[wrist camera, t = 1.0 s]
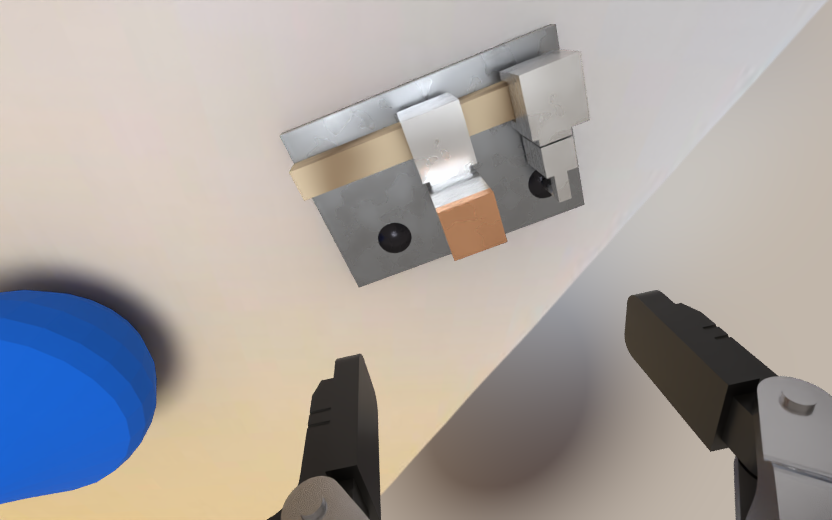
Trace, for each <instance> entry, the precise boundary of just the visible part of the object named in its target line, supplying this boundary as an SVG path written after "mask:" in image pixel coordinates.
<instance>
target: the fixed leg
mask: <svg viewBox="0 0 832 520" xmlns="http://www.w3.org/2000/svg"><path fill="white" fill-rule="evenodd" d="M499 74H500V79H501V80H502V81H505V82H507V83H508V87H509V92H510V96H511V101H512V105H513V109H514V114H515V118H516V119H513V120H510V121H511V126H512V128H514V129H516V130H517V131H519V133H520V134H522V135H523V136H522V140H523V144H524V149H525V153H526V158H527V162H528V164H529V165H531V166H532V167H533V168H534V169H536V170H537V171H538V172H539V173H541V174H542V175H543V176H544V177H546V179H544V180H543V182H542V186H543V187H544V188H545V189H546V190H547V191H548V192H549V193H551V194H552V195H553V196H554V198H555V199H556V200H557V201H558V202H559V203H560V202H563V201H565V200H568V199H571V198H572V197H571V191H570V185H569V179H568V174H567V171H569V170H571V169H574V168H577V167H578V164H577V157H576V151H575V145H574V139H573V136H572V130H571V127H573V126H576V125H578V124H581V123H583V122H586V121H589V120H590V117H589V110H588V103H587V95H586V88H585V81H584V74H583V66H582V59H581V52H580V51H571V50H558V51H553V50H551V51H549V52H546V53H544V54H541V55H539V56H536V57H534V58H531V59H529V60H526V61H524V62H521V63H519V64H516V65H514V66H511V67H509V68H507V69H504V70H502V71H499Z"/></svg>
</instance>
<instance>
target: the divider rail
mask: <svg viewBox="0 0 832 520" xmlns="http://www.w3.org/2000/svg"><path fill="white" fill-rule="evenodd" d="M458 99H459V101H460V105H461V108H462V112H463V115H464V119H465V122H466V126H467V129H468V133H469V136H472V135H475V134H477V133H480V132H482V131H485V130H487V129H490V128H492V127H495V126H498V125H500V124H503V123H505V122H508V121H510V120H513V119H516V118H515V114H514V109H513V105H512V101H511V96H510V92H509V87H508V83H507V82H505V81H500V82H498V83H495V84H493V85H490V86H488V87H485V88H483V89H480V90H478V91H475V92H473V93H470V94H468V95H465V96H463V97H460V98H458ZM410 159H413V156H412V153H411V151H410V148H409V145H408V142H407V140H406V137H405V134H404V132H403V129H402V126H401V123H400V122H398V123H395V124H393V125H390V126H388V127H385V128H382V129H380V130H377V131H375V132H372V133H370V134H367V135H365V136H362V137H360V138H357V139H355V140H352V141H350V142H347V143H345V144H342V145H340V146H337V147H335V148H332V149H330V150H327V151H325V152H322V153H320V154H317V155H315V156H312V157H310V158H307V159H305V160H302V161H300V162H297V163H295V164H294V165H293V167H292V168H291V170H290V172H289V173H290V175H291V177H292V179H293V181H294V182H295V184H296V186H297V188H298V190H299V192H300V194H301V196H302V197H303V199H304V201H305V200H308V199H310V198H313V197H316V196H318V195H321V194H323V193H326V192H328V191H331V190H334V189H336V188H339V187H341V186H344V185H346V184H349V183H351V182H354V181H357V180H359V179H362V178H364V177H367V176H369V175H372V174H375V173H377V172H380V171H382V170H385V169H387V168H390V167H392V166H395V165H398V164H400V163H403V162H405V161H408V160H410Z"/></svg>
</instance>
